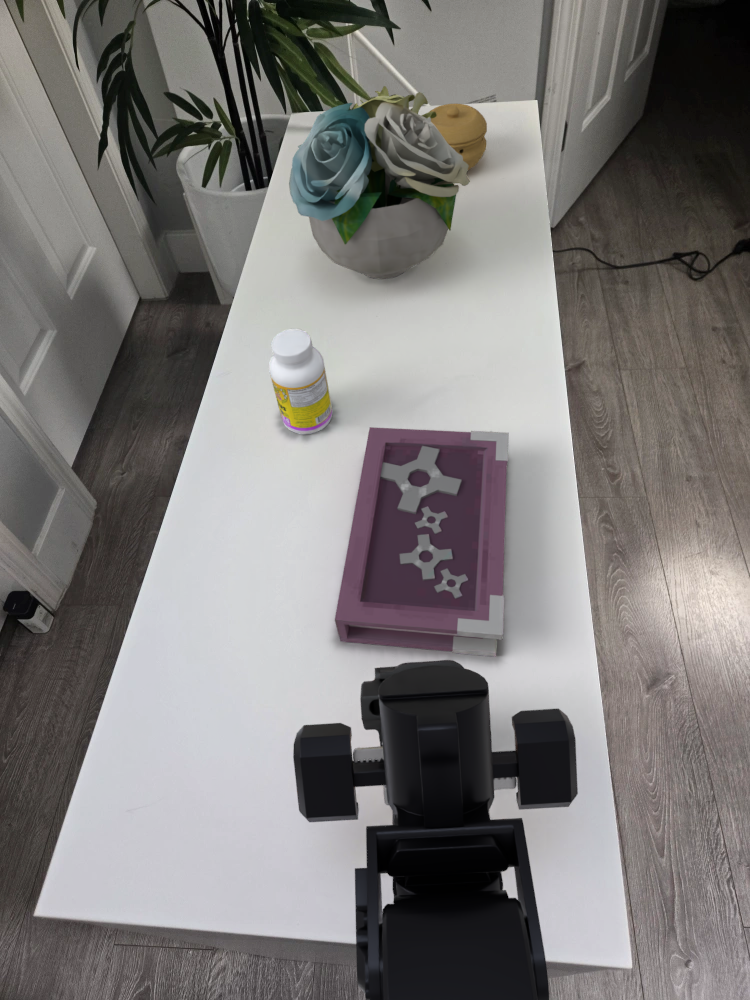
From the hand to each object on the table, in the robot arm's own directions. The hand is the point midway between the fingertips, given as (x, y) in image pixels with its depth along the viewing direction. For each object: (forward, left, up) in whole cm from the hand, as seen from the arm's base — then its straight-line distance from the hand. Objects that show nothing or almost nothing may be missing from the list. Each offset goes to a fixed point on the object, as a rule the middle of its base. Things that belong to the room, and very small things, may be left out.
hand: (428, 711), depth 57 cm
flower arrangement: (+65, -38, -11) cm, 76 cm away
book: (+19, -13, -11) cm, 26 cm away
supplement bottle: (+44, -12, -11) cm, 47 cm away
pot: (+81, -63, -11) cm, 103 cm away
